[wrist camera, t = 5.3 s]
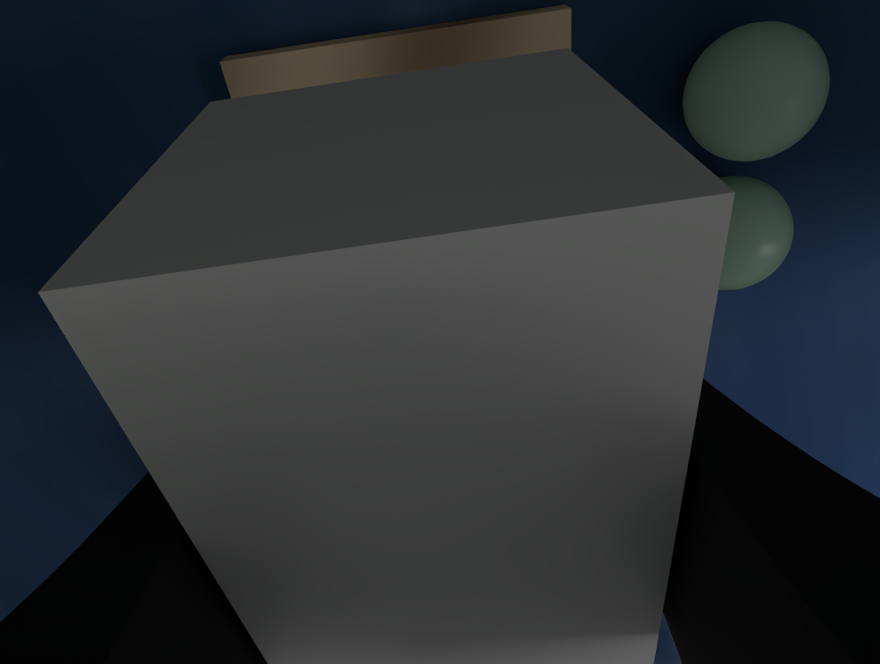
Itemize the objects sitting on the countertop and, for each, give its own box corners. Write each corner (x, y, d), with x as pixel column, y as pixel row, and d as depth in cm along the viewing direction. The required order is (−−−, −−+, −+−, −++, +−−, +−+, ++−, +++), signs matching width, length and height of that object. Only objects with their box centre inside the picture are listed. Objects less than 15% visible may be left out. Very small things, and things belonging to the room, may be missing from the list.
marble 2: (767, 151, 16) (833, 195, 14) (748, 248, 18) (803, 303, 16) (657, 167, 16) (702, 214, 14) (648, 263, 18) (687, 319, 16)
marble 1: (797, 2, 14) (880, 23, 12) (772, 129, 16) (839, 170, 14) (670, 21, 14) (726, 47, 12) (659, 145, 16) (706, 190, 14)
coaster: (564, 4, 14) (571, 8, 13) (566, 293, 19) (570, 304, 18) (225, 56, 14) (219, 62, 14) (311, 329, 19) (309, 341, 18)
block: (210, 101, 8) (38, 293, 4) (568, 48, 8) (735, 191, 4) (348, 507, 14) (329, 764, 10) (568, 478, 14) (642, 726, 9)
